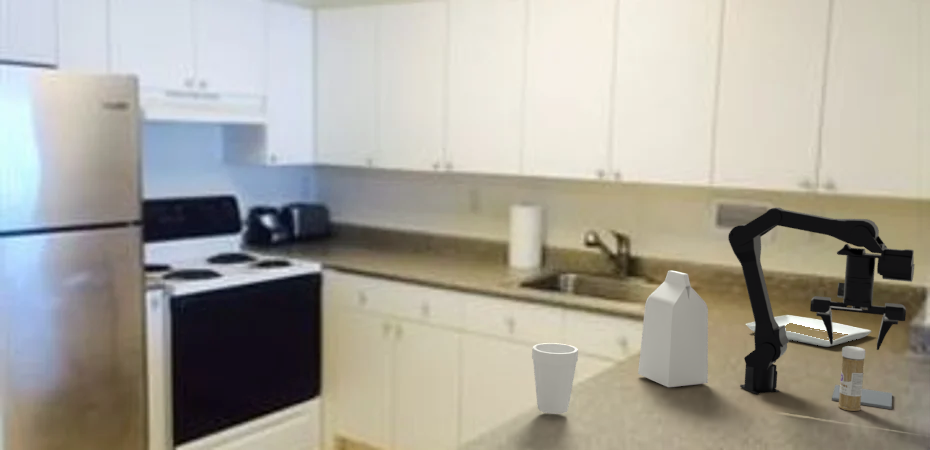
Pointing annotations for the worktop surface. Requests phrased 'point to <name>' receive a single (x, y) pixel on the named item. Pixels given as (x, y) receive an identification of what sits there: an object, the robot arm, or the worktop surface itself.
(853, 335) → the square plate
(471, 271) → the worktop surface
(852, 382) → the sprinkles bottle
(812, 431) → the worktop surface
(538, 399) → the foam cup
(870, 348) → the worktop surface
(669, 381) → the milk
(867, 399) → the rest mat
